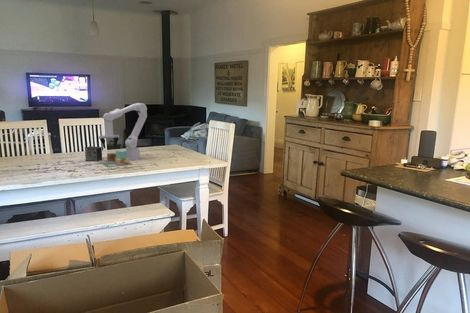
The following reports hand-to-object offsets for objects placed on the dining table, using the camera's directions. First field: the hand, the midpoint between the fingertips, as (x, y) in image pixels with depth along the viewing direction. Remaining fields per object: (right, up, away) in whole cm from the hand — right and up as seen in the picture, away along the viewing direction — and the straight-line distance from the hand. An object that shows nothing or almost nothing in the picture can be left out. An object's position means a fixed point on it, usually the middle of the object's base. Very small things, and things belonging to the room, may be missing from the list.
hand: (109, 147), depth 261 cm
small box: (-13, -10, +5) cm, 17 cm away
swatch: (+7, -13, -14) cm, 20 cm away
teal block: (+11, -8, -8) cm, 16 cm away
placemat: (+8, -12, -8) cm, 17 cm away
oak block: (+11, -12, -7) cm, 18 cm away
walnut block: (0, -10, +5) cm, 11 cm away
